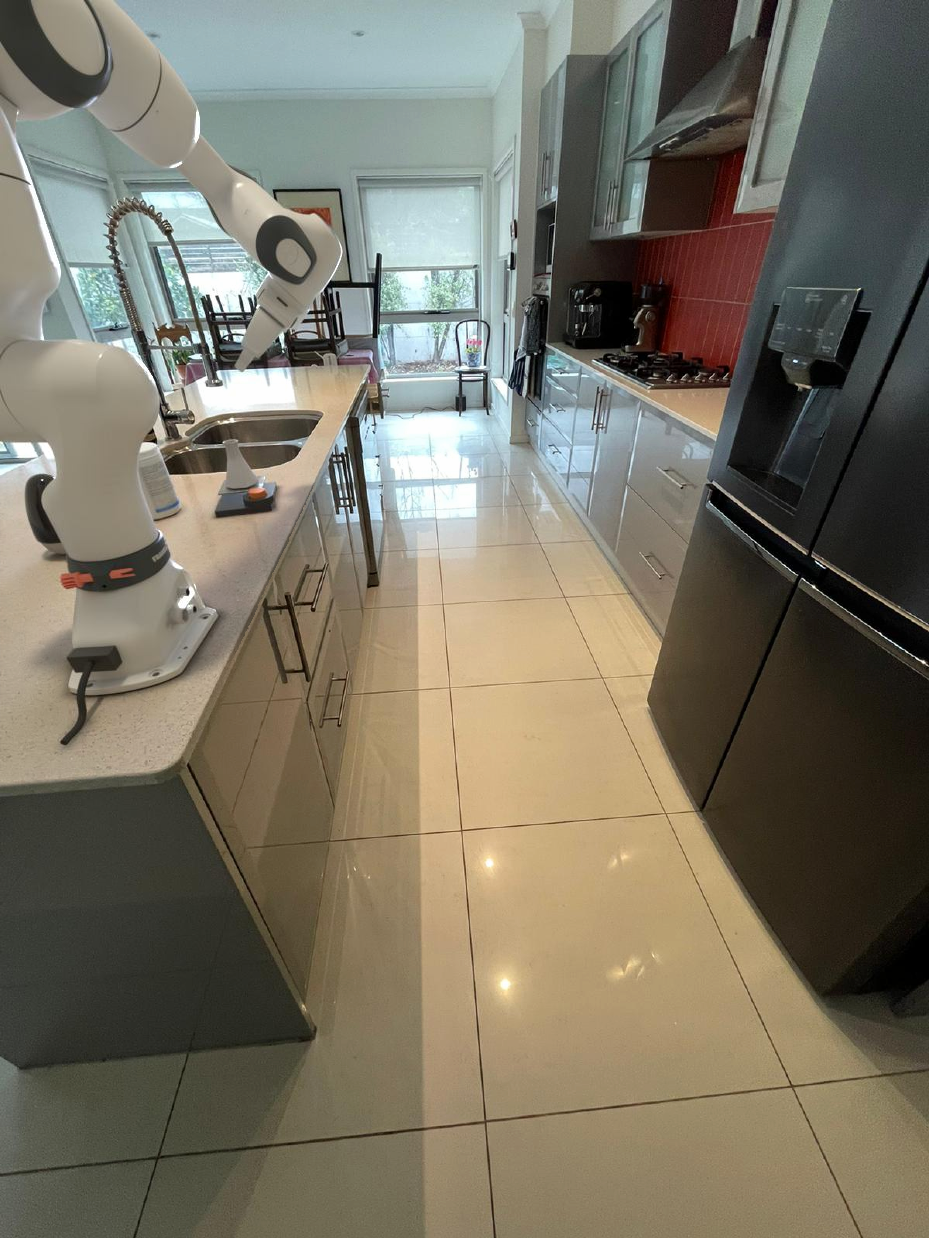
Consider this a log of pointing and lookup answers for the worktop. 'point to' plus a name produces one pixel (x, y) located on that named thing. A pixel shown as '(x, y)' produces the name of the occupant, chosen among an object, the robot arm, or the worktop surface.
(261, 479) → the weighing plate
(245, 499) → the scale
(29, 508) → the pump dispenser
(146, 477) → the supplement tub
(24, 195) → the robot arm
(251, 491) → the button
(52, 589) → the worktop surface
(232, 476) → the flask
